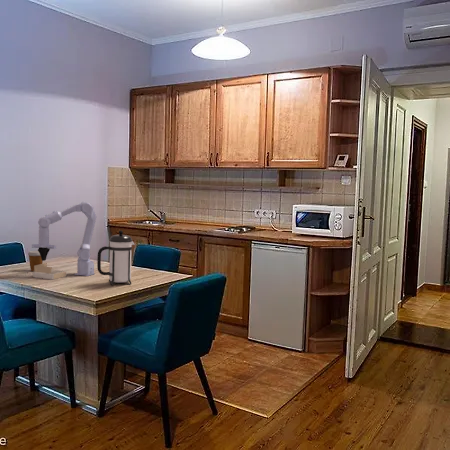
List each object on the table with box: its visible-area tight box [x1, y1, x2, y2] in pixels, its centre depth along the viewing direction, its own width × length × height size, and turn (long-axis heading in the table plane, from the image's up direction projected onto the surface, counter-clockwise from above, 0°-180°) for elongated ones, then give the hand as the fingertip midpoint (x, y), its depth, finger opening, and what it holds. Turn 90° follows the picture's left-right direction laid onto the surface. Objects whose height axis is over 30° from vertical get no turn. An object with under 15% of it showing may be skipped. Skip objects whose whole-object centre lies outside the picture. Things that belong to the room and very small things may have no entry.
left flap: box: [36, 266, 53, 273], centre depth 281 cm, size 10×4×1 cm
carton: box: [32, 269, 67, 281], centre depth 286 cm, size 14×12×3 cm
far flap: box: [33, 262, 48, 272], centre depth 288 cm, size 4×11×1 cm
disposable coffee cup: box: [27, 250, 44, 272], centre depth 303 cm, size 10×10×12 cm
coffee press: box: [96, 230, 136, 286], centre depth 273 cm, size 17×16×30 cm
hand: (43, 260), depth 287 cm, fingers closed
